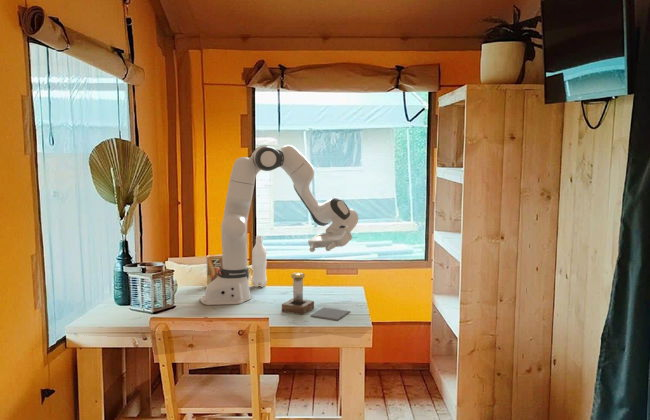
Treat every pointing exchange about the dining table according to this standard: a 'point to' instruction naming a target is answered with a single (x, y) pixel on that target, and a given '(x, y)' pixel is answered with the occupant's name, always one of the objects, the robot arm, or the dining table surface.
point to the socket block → (298, 307)
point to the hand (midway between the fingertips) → (319, 250)
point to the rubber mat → (330, 313)
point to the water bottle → (259, 263)
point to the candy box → (213, 267)
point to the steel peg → (298, 288)
